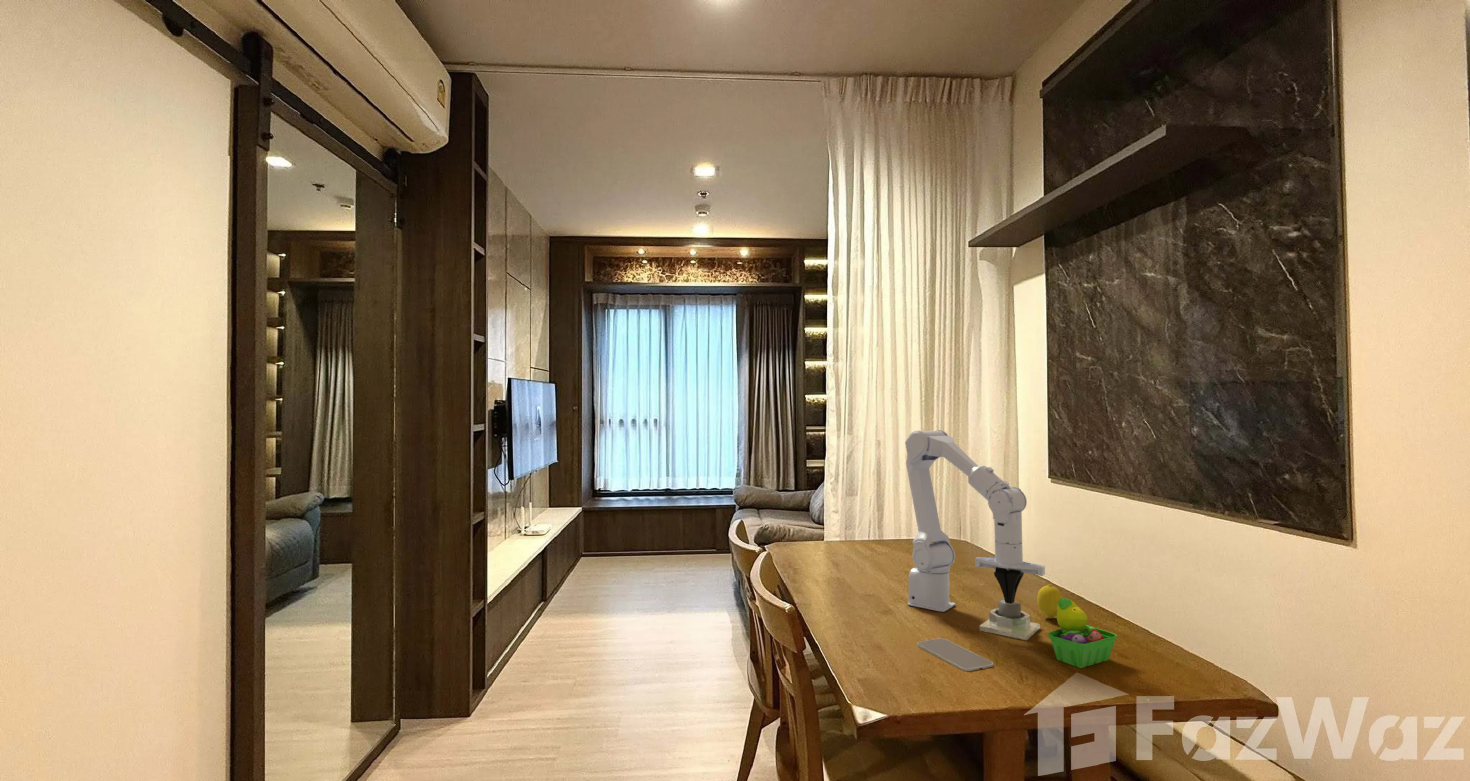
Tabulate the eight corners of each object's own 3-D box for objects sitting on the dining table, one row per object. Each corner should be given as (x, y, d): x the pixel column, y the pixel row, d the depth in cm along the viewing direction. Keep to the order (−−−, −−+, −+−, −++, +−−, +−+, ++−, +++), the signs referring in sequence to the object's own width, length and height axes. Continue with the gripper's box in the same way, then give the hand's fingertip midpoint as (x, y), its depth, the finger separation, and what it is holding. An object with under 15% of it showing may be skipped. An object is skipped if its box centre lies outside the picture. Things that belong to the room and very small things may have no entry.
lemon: (1057, 615, 154) (1057, 581, 155) (1067, 622, 149) (1066, 587, 149) (1033, 614, 155) (1033, 580, 155) (1042, 621, 149) (1041, 587, 150)
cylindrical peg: (995, 625, 144) (995, 602, 144) (1002, 620, 148) (1002, 597, 148) (1017, 629, 141) (1016, 606, 141) (1023, 624, 144) (1023, 601, 145)
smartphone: (965, 669, 121) (914, 642, 135) (965, 674, 121) (914, 646, 135) (996, 663, 124) (943, 637, 138) (996, 668, 124) (943, 641, 138)
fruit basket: (1082, 672, 121) (1081, 611, 121) (1041, 656, 128) (1039, 599, 129) (1119, 661, 126) (1118, 602, 126) (1077, 646, 134) (1076, 591, 134)
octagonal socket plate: (979, 630, 144) (979, 614, 144) (994, 619, 151) (994, 604, 151) (1027, 640, 137) (1026, 623, 137) (1039, 628, 145) (1039, 612, 145)
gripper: (969, 540, 147) (971, 601, 146) (1037, 548, 137) (1039, 613, 137) (980, 536, 152) (981, 594, 151) (1046, 543, 143) (1048, 605, 142)
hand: (1009, 603), depth 144 cm, fingers closed, pressing on cylindrical peg
